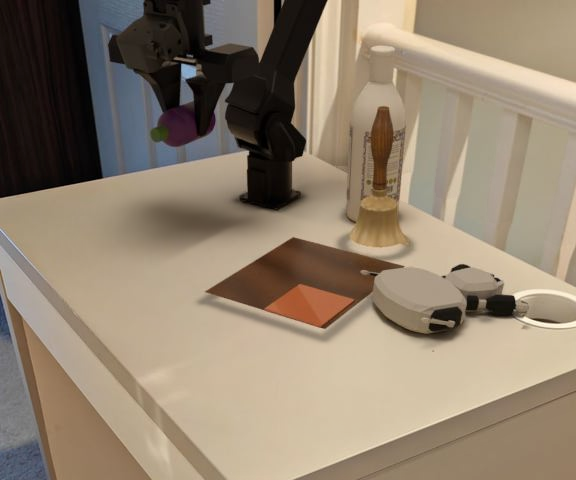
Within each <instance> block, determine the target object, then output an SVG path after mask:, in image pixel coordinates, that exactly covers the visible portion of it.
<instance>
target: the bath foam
mask: <svg viewBox="0 0 576 480" xmlns="http://www.w3.org/2000/svg"><path fill="white" fill-rule="evenodd" d="M395 57H396V48H395V47H393V46H391V45H373V46H372V47H370V50H369V65H368V80H367V83H366V84H365V86H364V88H363V89H362V91H361V92H360V94H359V96H358V97H357V98H356V101H355V103H354V104H353V108H352V111H351V113H350V114H351V115H350V120H349V121H350V122H349V134H348V137H349V138H348V154H347V155H348V157H347V158H348V159H347V181H346V183H347V184H346V202H345V203H346V206H345V208H346V209H345V213H346V216H347V217H348V218H349V220H351V221H353V222H355V223H356V221H357V218H358V215H359V209H360V204H361V201H362V200H363V199H364V198H366V197H369V196H371V195H372V191H373V187H372V184H373V174H374V161H373V156H372V152H371V130H372V126H373V123H374V120H375V117H376V114H377V110H378V107H380V106H386V107H389V112H390V117H391V121H392V125H393V144H392V150H391V154H390V157H389V159H388V164H387V181H386V183H387V187H386V188H387V196H389V197H391V198H393V199H394V200H395V201H396V202H397V214H398V215H399V209H400V207H399V206H400V198H401V186H402V176H403V163H404V153H405V140H406V128H407V115H406V109H405V105H404V103H403V100H402V97H401V95H400V93H399V92H398V89H397V88H396V86H395V83H394V81H393V80H394V72H395V71H394V70H395V69H394V68H395Z"/></svg>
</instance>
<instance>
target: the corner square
mask: <svg viewBox="0 0 576 480" xmlns="http://www.w3.org/2000/svg"><path fill="white" fill-rule="evenodd" d="M354 301H355V300H354V299H351V298H347V297H344V296H340V295H337V294H333V293H330V292H326V291H323V290H319V289H316V288H312V287H309V286H305V285H302V284H299V285H298V286H296V287H295V288H293V289H292V290H290V291H289V292H288V293H286V294H285V295H283V296H282V297H280V298H279V299H277V300H276V301H275V302H273V303H272V304H270V305H269V306H267V307H266V308H265V310H266V311H265V310H264V311H265V312H268V311H269V312H268V313H271V312H273V313H272V314H274V313H276V314H275V315H278V314H279V315H278V316H281V315H282V316H281V317H284V316H286V317H285V318H287V317H289V318H288V319H290V318H292V319H291V320H294V319H295V320H294V321H297V320H299V321H298V322H300V321H302V322H301V323H303V322H305V323H304V324H307V323H308V324H307V325H310V324H311V325H310V326H313V325H315V326H314V327H316V326H318V327H317V328H320V327H322V326H323V325H325V324H326V323H327V322H329V321H330V320H331V319H332V318H334V317H335V316H336V315H338V314H339V313H340V312H341V311H343V310H344V309H345V308H347V307H348V306H349V305H350V304H352V303H353V302H354Z"/></svg>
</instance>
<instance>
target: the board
mask: <svg viewBox="0 0 576 480" xmlns="http://www.w3.org/2000/svg"><path fill="white" fill-rule="evenodd" d="M398 268H405V265H402V264H398V263H394V262H391V261H388V260H383V259H379V258H375V257H372V256H367V255H364V254H359V253H357V252H352V251H348V250H346V249H345V250H344V249H342V248H341V249H340V248H337V247H333V246H330V245H326V244H321V243H317V242H314V241H311V240H306V239H303V238H298V237H296V236H295V237H294V236H293V237H291V238H289V239H287V240H286V241H284V242H282V243H281V244H279V245H278V246H276V247H275V248H273V249H271V250H270V251H267V253H264V254H263V255H262V256H260V257H258V258H257V259H255V260H254V261H252V262H250V263H249V264H247V265H246V266H244V267H242V268H241V269H239V270H238V271H237V270H236V272H234V273H233V274H231V275H229V276H227V277H226V278H224V279H223V280H221V281H219V282H218V283H216V284H214V285H213V286H211V287H210V288H208V289H206V290H205V291H204V293H207V294H210V295H214V296H216V297H219V298H223V299H226V300H230V301H233V302H235V303H240V304H243V305H245V306H249V307H252V308H254V309H258V310H261V311H262V310H263V311H264V312H268V313H271V314H274V315H278V316H280V317H285V318H288V319H290V320H293V321H296V322H297V321H298V322H301V323H304V324H307V325H310V326H314V327H317V328H320V329H323V330H326V329H327V328H329V327H330V326H331V325H333V324H334V323H335V322H336V321H337V320H339V319H340V318H341V317H343V316H344V315H345V314H346V313H348V312H349V311H351V309H353V308H355V306H356V305H358V304H359V303H361V302H362V301H364V299H366V298H367V297H368V296H369V295H371V294H373V287H374V280H375V277H376V276H373V275H363V274H362V273H361V272H360V271H362V270H366V271H368V272H374V273H381V272H382V271H383V270H391V269H398ZM299 284H302V285H305V286H309V287H312V288H316V289H319V290H323V291H326V292H330V293H333V294H337V295H340V296H344V297H347V298H351V299H354V300H355V301H354V302H353V303H352V304H350V305H349V306H348V307H347V308H345V309H344V310H343V311H341V312H340V313H339V314H338V315H336V316H335V317H334V318H332V319H331V320H330V321H329V322H327V323H326V324H325V325H323V326H322V327H318V326H315V325H311V324H308V323H305V322H302V321H299V320H295V319H292V318H289V317H286V316H282V315H279V314H276V313H273V312H269V311H266V310H265V308H266V307H267V306H269V305H270V304H272V303H273V302H275V301H276V300H277V299H279V298H280V297H282V296H283V295H285V294H286V293H288V292H289V291H290V290H292V289H293V288H295V287H296V286H298V285H299Z"/></svg>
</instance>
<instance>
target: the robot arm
mask: <svg viewBox="0 0 576 480" xmlns="http://www.w3.org/2000/svg"><path fill="white" fill-rule="evenodd" d="M211 1H212V0H144V1H142V6H143V14H142V16H141V17H140V18H137V19H136V20H134V21H132V22H131V24H129V25H128V26H127V27H126V28H125V29H124V30H123V31H122V32H116V33H112V34H111V37H110V38H109V41H108V42H107V43H108V44H107V48H108V57H109V62H110V63H115V64H121V65H125V68H126V69H128V70H132V72H133V73H134V74H137V75H139V76H140V77H142V78H143V80H144V81H146V82H147V83H148V85H150V87H151V89H152V91H153V93H154V94H155V97H156V99H157V102H158V104H159V106H160V107H159V108H160V109H161V112H162V114H163V113H164V112H165V111H167V110H169V109H172V108H175V107H178V106H180V105H181V86H182V65H186V66H187V65H188V66H191V67H196V69H195V76H192V77H188V78H185V79H184V81H185V84H187V86H188V87H189V88H190V90H191V91H192V95H193V101H194V109H195V121H196V128H197V134H198V136H199V137H202V136H205V135H206V132H207V130H208V127H209V124H210V121H211V119H212V116H213V113H215V110H216V107H217V104H218V103H219V99H220V98H221V96H222V93H223V91H224V89H225V88H226V85H227V84H232V87H231V90H230V92H229V94H228V96H227V97H225V99H224V102H225V103H226V104H227V105H226V109H225V112H224V119H225V121H226V125H227V129H228V131H229V132H230V134H231V135H232V136H233V138H234V141H235V143H236V147H237V148H238V149H243V150H246V151H248V155H246V165H247V166H246V167H247V168H246V191H245V192H244V193H242V194H240V195H238V198H239V201H243V202H246V203H250V204H255V205H259V206H263V207H267V208H271V209H276V210H277V209H280V208H281V207H283V206H285V205H287V204H288V203H290V202H292V201H294V200H295V199H297V198H299V197H301V196H302V191H301V190H297V189H293V162H295V160H297V158H302V157H303V155H304V152H305V148H306V144H307V138H306V137H304V135H303V134H302V133H301V132H300V131H299V129H297V128H296V127H295V125H294V124H293V123H292V122H293V118H294V114H295V111H296V93H295V82H296V78H297V76H298V73H299V71H300V70H301V66H302V63H303V62H304V59H305V56H306V54H307V51H308V49H309V46H310V45H311V43H312V39H313V37H314V35H315V32H316V30H317V28H318V25H319V23H320V20H321V17H322V16H323V13H324V10H325V9H326V7H327V3H328V1H329V0H283V3H282V5H281V7H280V11H279V13H278V15H277V17H276V20H275V23H274V25H273V28H272V30H271V32H270V35H269V38H268V40H267V42H266V45H265V48H264V50H263V53H262V56H261V59H260V57H259V53H257V50H256V49H255V48H254V47H253V46H249V45H242V44H236V43H230V42H229V43H226V44H222V45H220V46H219V45H218V46H215V47H213V48H208V49H207V48H206V47H209V46H213V45H214V41H213V34H210V33H206V24H205V9H204V8H205V6H207V5H211V4H212V3H211ZM205 137H206V136H205Z"/></svg>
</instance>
